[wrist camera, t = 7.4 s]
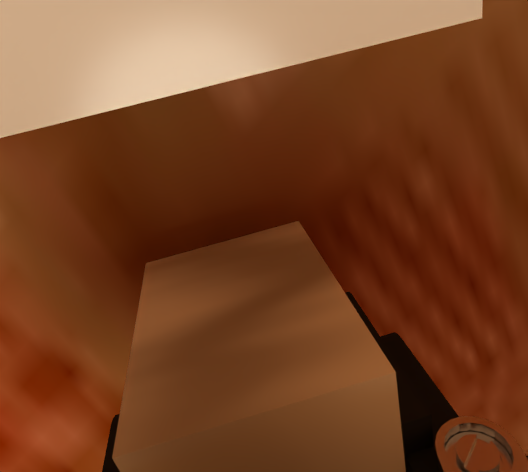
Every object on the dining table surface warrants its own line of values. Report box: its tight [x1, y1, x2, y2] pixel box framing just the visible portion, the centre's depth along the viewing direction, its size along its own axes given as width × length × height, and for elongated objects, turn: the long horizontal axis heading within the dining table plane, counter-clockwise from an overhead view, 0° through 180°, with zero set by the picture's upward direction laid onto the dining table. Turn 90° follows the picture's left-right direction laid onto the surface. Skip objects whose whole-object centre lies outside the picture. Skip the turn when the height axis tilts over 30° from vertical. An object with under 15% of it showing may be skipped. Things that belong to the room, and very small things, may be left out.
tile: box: [0, 0, 482, 138], centre depth 7 cm, size 7×2×7 cm, turn 102°
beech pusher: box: [112, 221, 406, 472], centre depth 9 cm, size 4×5×6 cm
